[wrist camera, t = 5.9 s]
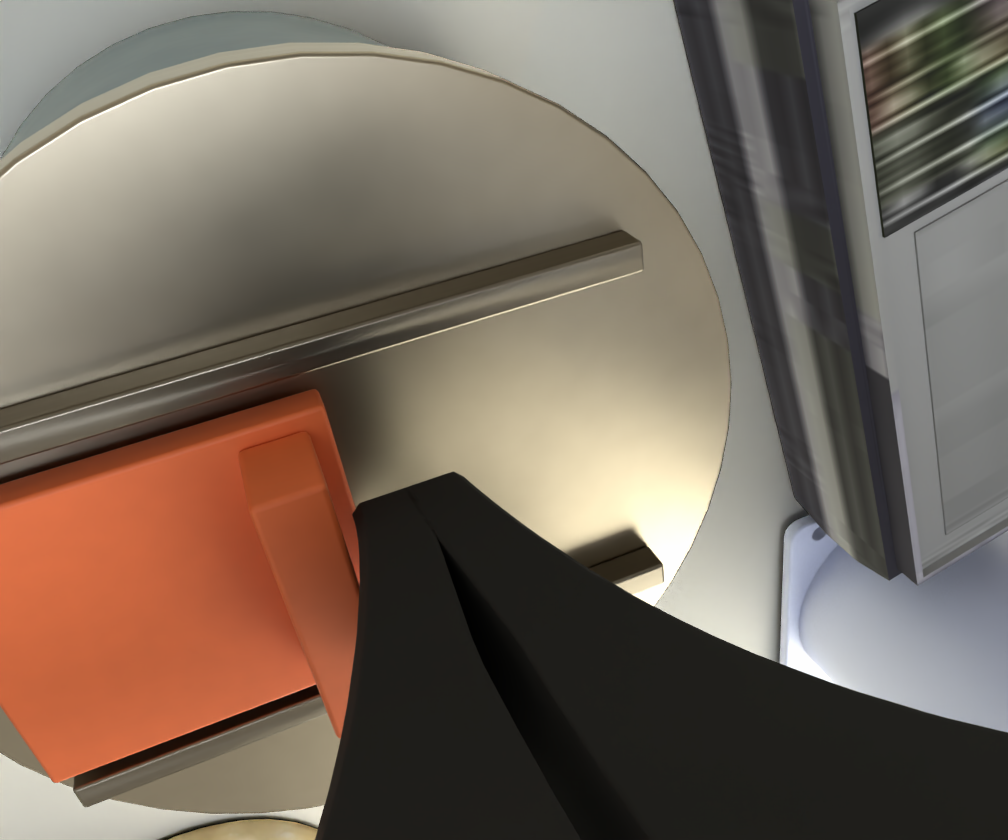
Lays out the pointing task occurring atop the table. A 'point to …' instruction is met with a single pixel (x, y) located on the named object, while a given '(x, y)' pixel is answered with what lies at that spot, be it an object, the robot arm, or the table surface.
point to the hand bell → (252, 831)
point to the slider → (177, 584)
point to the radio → (872, 255)
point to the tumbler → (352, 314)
